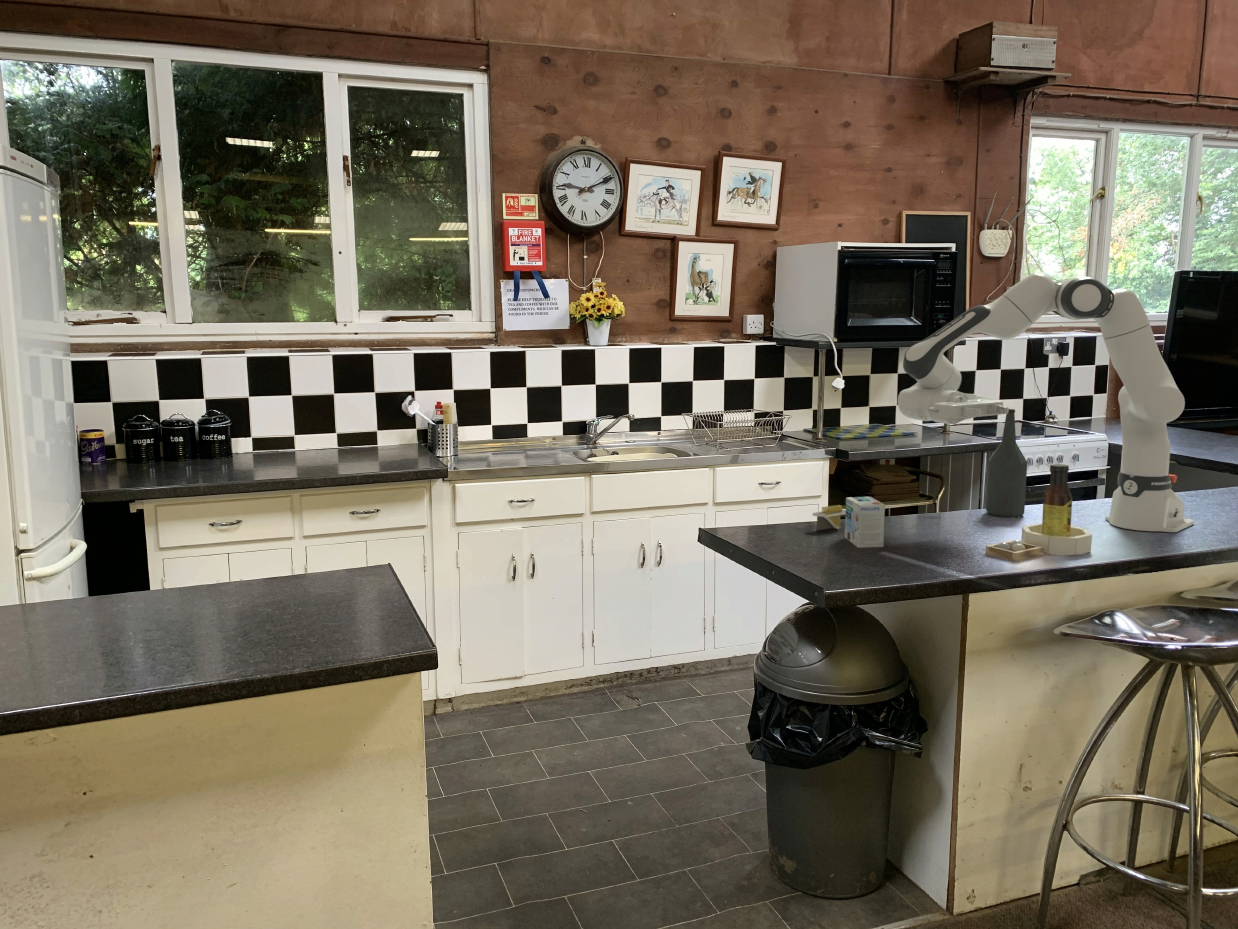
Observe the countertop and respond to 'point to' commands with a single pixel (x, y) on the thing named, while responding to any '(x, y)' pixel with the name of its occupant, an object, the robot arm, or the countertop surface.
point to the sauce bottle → (1057, 503)
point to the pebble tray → (1029, 553)
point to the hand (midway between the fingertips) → (994, 411)
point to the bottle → (1007, 475)
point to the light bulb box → (864, 522)
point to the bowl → (1058, 540)
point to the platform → (829, 517)
